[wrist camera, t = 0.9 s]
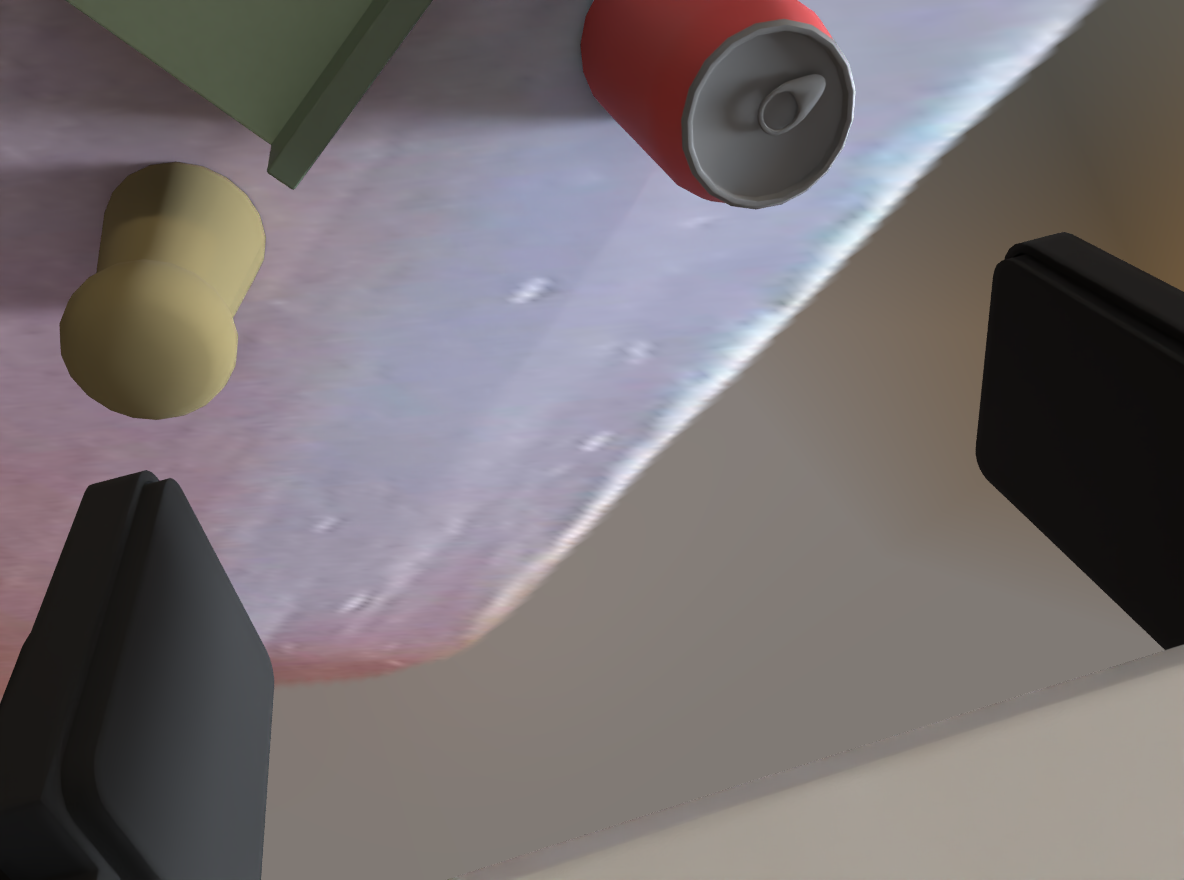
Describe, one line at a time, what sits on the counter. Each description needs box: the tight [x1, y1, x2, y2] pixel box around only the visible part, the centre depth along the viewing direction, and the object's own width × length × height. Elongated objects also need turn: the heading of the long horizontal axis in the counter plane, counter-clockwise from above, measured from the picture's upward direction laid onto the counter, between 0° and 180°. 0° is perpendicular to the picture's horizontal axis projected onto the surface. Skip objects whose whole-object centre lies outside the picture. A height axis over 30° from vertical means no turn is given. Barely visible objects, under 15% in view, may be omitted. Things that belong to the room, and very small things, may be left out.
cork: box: [60, 162, 266, 420], centre depth 33 cm, size 6×6×11 cm
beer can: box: [580, 0, 855, 209], centre depth 32 cm, size 7×7×12 cm
